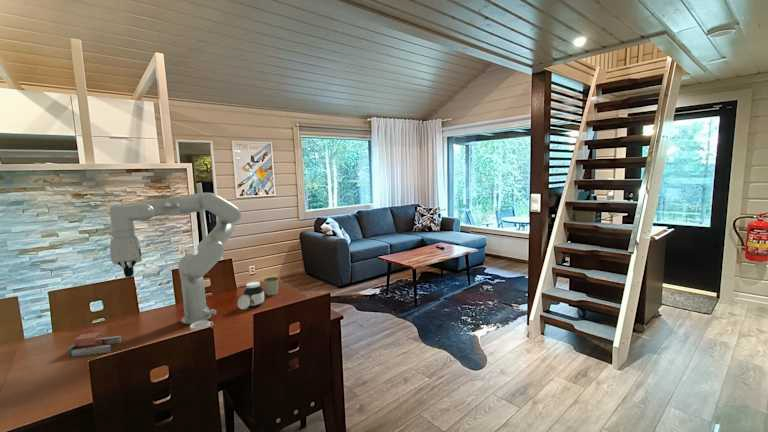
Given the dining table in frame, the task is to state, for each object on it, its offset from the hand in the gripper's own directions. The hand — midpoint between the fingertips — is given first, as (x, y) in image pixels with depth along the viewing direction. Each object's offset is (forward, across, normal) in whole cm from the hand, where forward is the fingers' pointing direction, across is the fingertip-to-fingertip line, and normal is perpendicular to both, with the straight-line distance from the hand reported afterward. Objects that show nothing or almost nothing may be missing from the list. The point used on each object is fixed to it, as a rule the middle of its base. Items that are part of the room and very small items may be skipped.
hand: (129, 276), depth 153 cm
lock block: (+27, -14, -9) cm, 31 cm away
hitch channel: (+27, -11, -9) cm, 30 cm away
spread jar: (+27, +45, +22) cm, 57 cm away
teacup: (+27, +29, -8) cm, 40 cm away
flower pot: (+28, +54, +39) cm, 72 cm away
